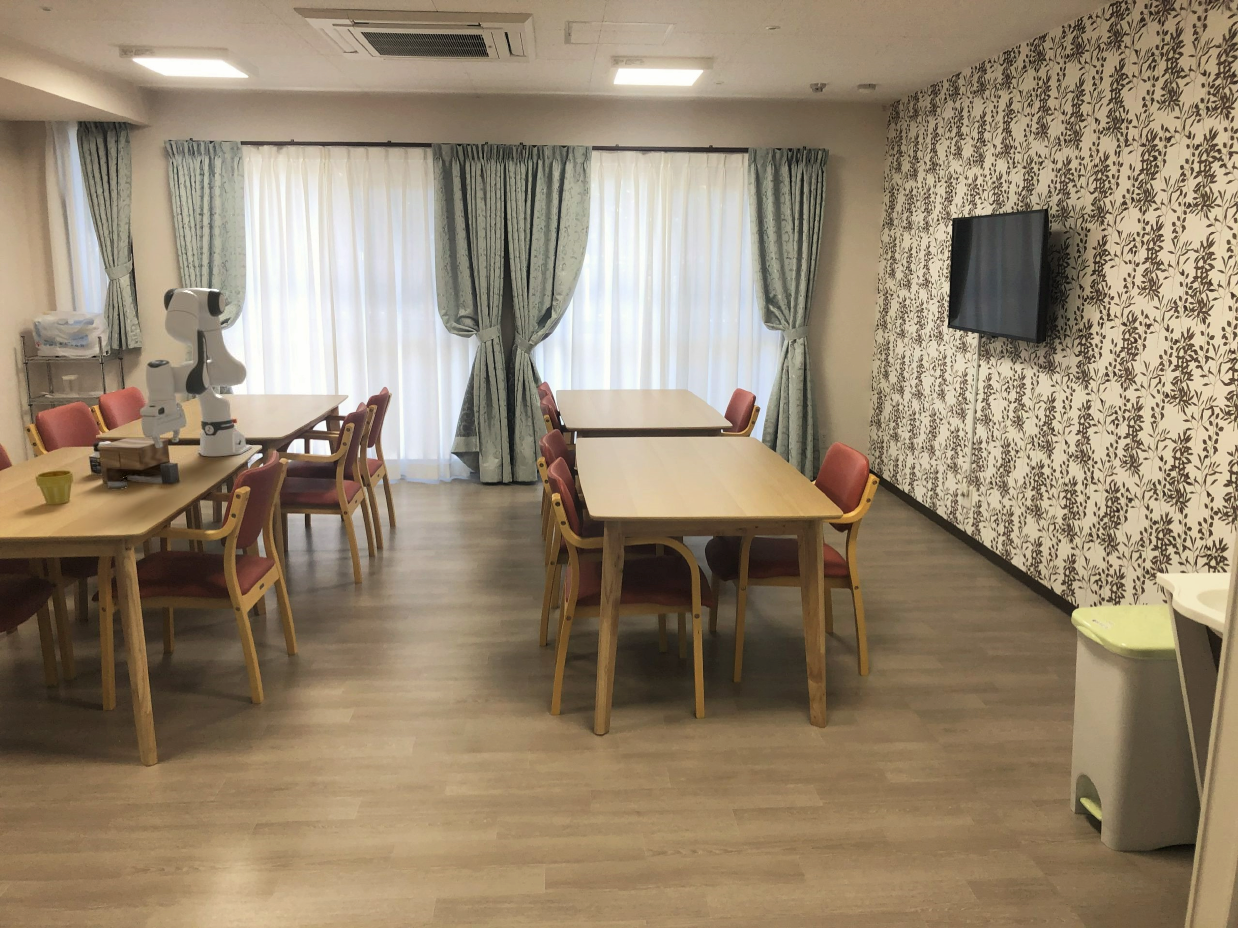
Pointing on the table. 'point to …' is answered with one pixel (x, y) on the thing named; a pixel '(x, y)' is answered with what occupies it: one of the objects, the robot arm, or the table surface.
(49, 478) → the plant pot
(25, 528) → the table surface
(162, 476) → the grey mallet
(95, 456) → the medicine bottle
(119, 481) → the steel puck
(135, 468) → the cabinet
